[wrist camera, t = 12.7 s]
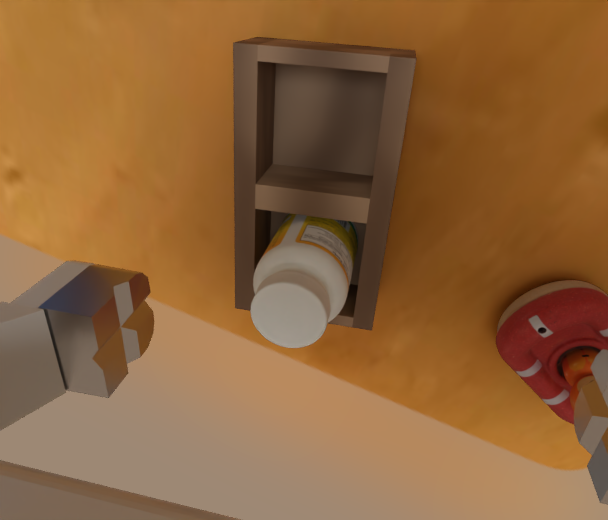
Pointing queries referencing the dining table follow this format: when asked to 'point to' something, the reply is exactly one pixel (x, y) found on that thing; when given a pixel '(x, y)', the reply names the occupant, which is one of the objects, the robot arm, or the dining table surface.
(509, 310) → the toy boat
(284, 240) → the supplement bottle
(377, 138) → the small wooden cubby shelf
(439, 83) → the dining table surface
